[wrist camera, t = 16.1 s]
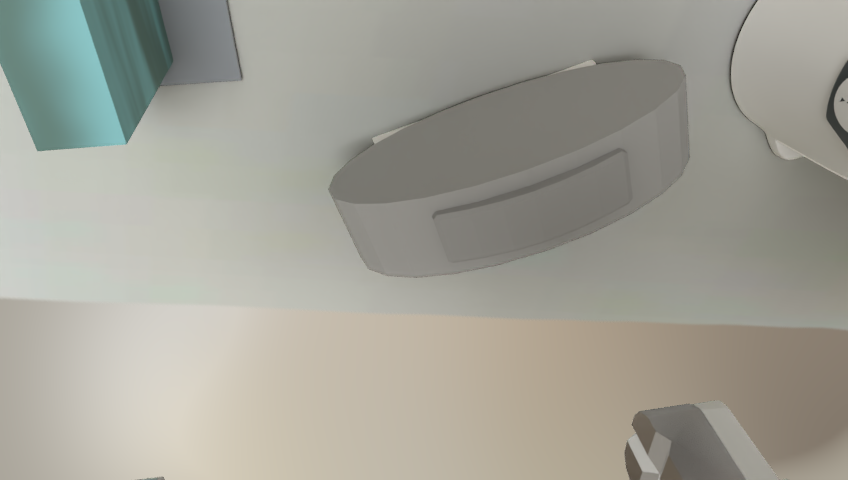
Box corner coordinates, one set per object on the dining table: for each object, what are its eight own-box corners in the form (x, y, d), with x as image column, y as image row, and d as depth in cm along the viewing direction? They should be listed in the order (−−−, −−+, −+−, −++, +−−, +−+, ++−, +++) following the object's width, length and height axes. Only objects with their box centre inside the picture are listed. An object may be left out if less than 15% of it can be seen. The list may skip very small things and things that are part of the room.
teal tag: (137, -80, 34) (67, -38, 24) (173, 61, 39) (126, 144, 29) (62, -77, 34) (-41, -33, 24) (107, 65, 38) (37, 150, 29)
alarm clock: (357, 211, 48) (369, 322, 37) (326, 144, 44) (330, 246, 34) (643, 112, 46) (737, 198, 36) (635, 34, 43) (738, 105, 32)
